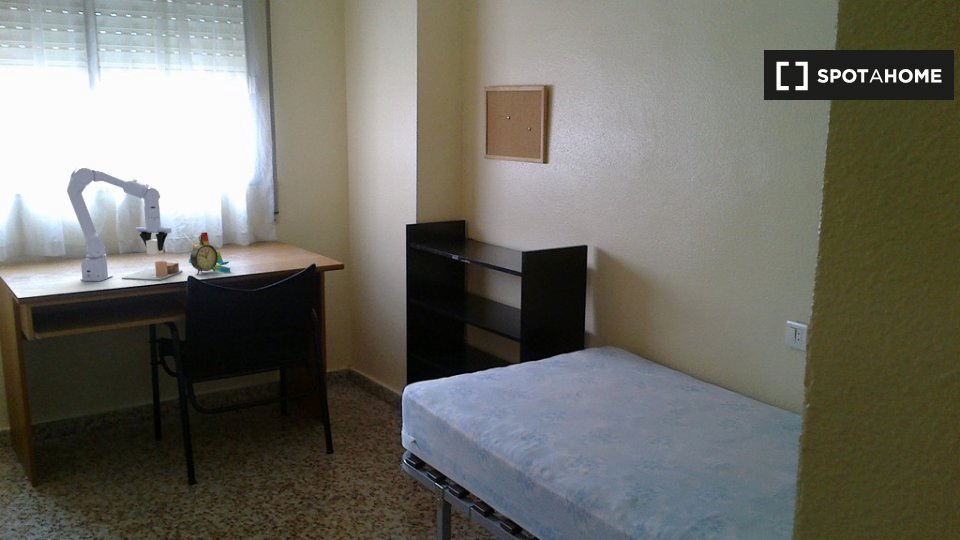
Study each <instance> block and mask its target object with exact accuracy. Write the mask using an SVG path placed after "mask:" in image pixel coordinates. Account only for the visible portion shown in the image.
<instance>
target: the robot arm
mask: <svg viewBox="0 0 960 540" xmlns="http://www.w3.org/2000/svg"><path fill="white" fill-rule="evenodd" d="M92 182H104V183H108V184H110V185H113V186H115V187H119V188H121V189H122V190H123V192H124V193H125V194H128V195H131V196H132V197H136V198H138V199H143V203H144V204H143V205H144V206H143V210H144V213H143V214H144V223H145V224H144V226H138V227H135V229H134V231H135V233H139V236H140V238H141V239H142V241H143V243H144V245H145V249H146V250H147V248H146V241H147V240H151V239H152V233H155V237H156V239H157V242H158V250H159V251H161V250H163V251H164V245H165V241H166V238H167V237H168V234H171V233H172V227H164V226H162V225H161V211H160V202H159V200H160V198H161V195H160V193H159V191H158V189H156V188H154V187H152V186H150V185H149V184H144V183H141V182H138V180H137V179H135V178H133V179H130V178H129V179H127V180H124V179H123V178H119V177H117V176H115V175H112V174H110V173H107V172H105V171H102V170H100V169H95V168H92V167H90V168H88V167H87V166H84V165H79V166H77V167H76V168H75V169H74V170H73V171H72V173H70V179H69V182H68V186H67V189H66V192H67V195H68V198H69V201H70V203H71V205H72V208H73V210H74V211H73V212H74V213H75V216H76V218H77V221H78V223H79V225H80V228H81V231H82V233H83V236H84V239H85V248H86V250H87V253H86V255H85V256H86V257H85V259H83V260H82V262H81V277H82V278H80V281H83V282H84V281H85V282H86V281H87V282H101V281H104V280H107V279H109V278H113V277H114V276H113V275H111V274H110V275H109V273H108V259H107V254H106V246H105V244H104V243H103V241H102V240H101V239H100V237H99V234H98V232H97V229H96V227H95V225H94V222H93V220H92V217H91V214H90V211H89V209H88V206H87V205H86V201H85V199H84V196H83V192H84V190H85V189H86V187H87V186H88V185H90V184H91V183H92ZM161 226H162V227H161Z"/></svg>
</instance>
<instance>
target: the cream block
mask: <svg viewBox="0 0 960 540" xmlns="http://www.w3.org/2000/svg"><path fill="white" fill-rule="evenodd" d="M146 248H147V249H146ZM145 249H146V254H147V255H156V256H157V255H160V254H163V253H164V249H163V250H161V251H159V250H158V242H157V238H156V239H155V238H151V240H147V241H146V246H145Z"/></svg>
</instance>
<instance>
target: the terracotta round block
mask: <svg viewBox="0 0 960 540" xmlns="http://www.w3.org/2000/svg"><path fill="white" fill-rule="evenodd" d="M167 263H168V262H167V261H164V260H163V261H161V260H160V261H159V260H158V261H155V262H154V266H155V268H154V269H155V270H156V276H157V277H165V276H168V272H167Z"/></svg>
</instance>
